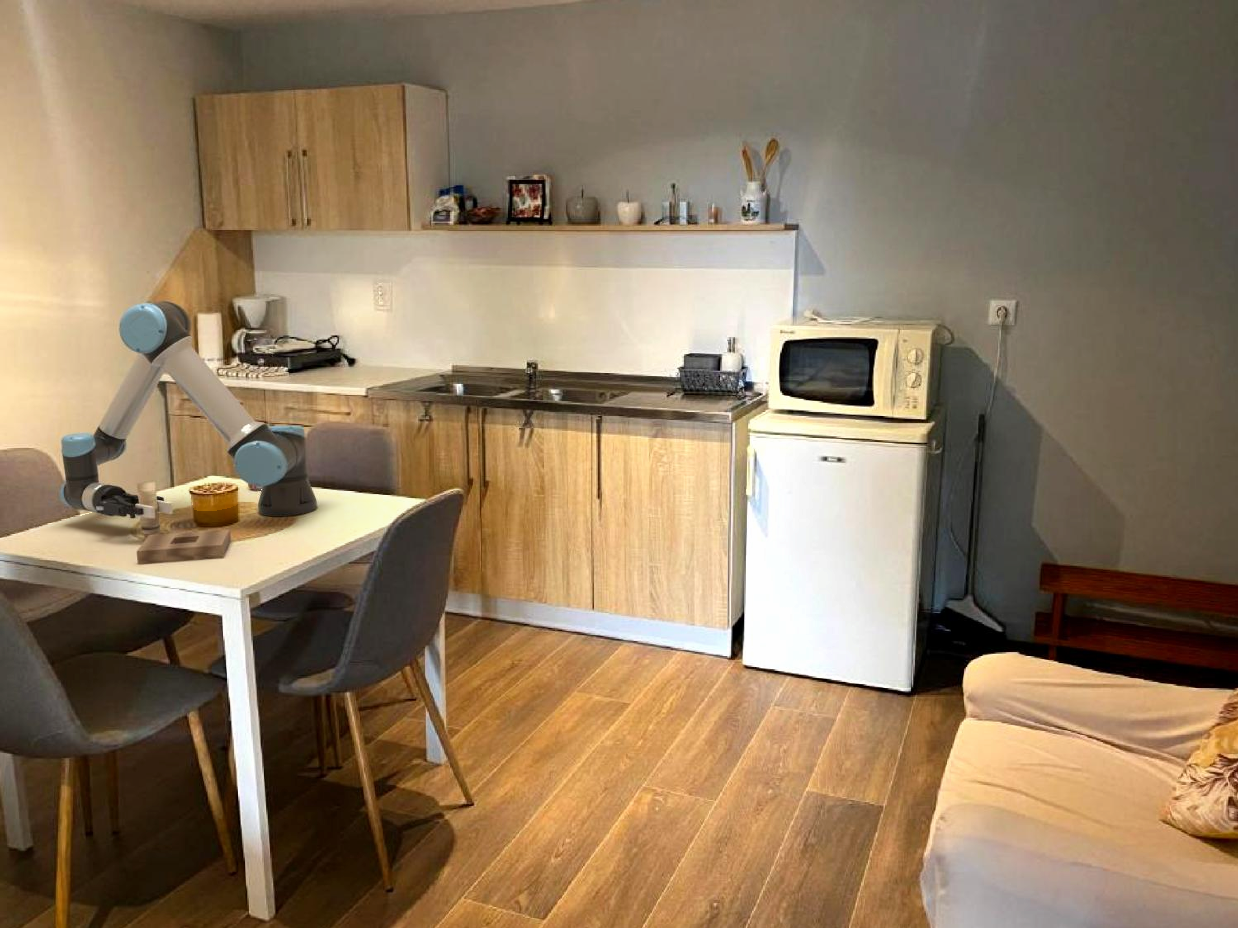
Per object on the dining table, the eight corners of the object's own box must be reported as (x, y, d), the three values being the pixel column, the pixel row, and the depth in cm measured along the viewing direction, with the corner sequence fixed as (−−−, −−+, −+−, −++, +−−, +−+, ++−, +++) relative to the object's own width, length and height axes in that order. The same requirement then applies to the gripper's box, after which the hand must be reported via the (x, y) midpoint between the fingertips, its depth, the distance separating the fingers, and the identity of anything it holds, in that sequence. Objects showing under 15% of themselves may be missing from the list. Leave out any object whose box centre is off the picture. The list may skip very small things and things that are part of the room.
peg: (162, 537, 254) (156, 481, 251) (159, 541, 250) (153, 484, 247) (144, 538, 253) (138, 482, 250) (141, 542, 249) (134, 486, 246)
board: (231, 541, 249) (229, 529, 248) (222, 557, 235) (221, 544, 235) (150, 547, 245) (149, 535, 244) (137, 564, 232) (136, 551, 231)
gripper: (138, 506, 267) (195, 518, 255) (74, 521, 253) (130, 534, 241) (135, 478, 266) (192, 488, 253) (70, 491, 252) (127, 502, 239)
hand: (162, 510), depth 247 cm, fingers closed on peg, 4 cm apart
